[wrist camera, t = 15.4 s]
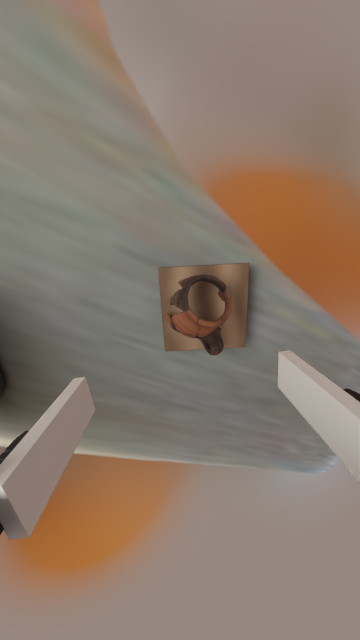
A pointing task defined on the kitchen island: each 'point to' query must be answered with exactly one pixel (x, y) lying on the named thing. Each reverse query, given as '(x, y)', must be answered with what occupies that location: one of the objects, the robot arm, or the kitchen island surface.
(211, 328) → the brown piece
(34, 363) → the kitchen island surface
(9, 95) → the kitchen island surface
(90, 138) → the kitchen island surface
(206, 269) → the walnut riser block
